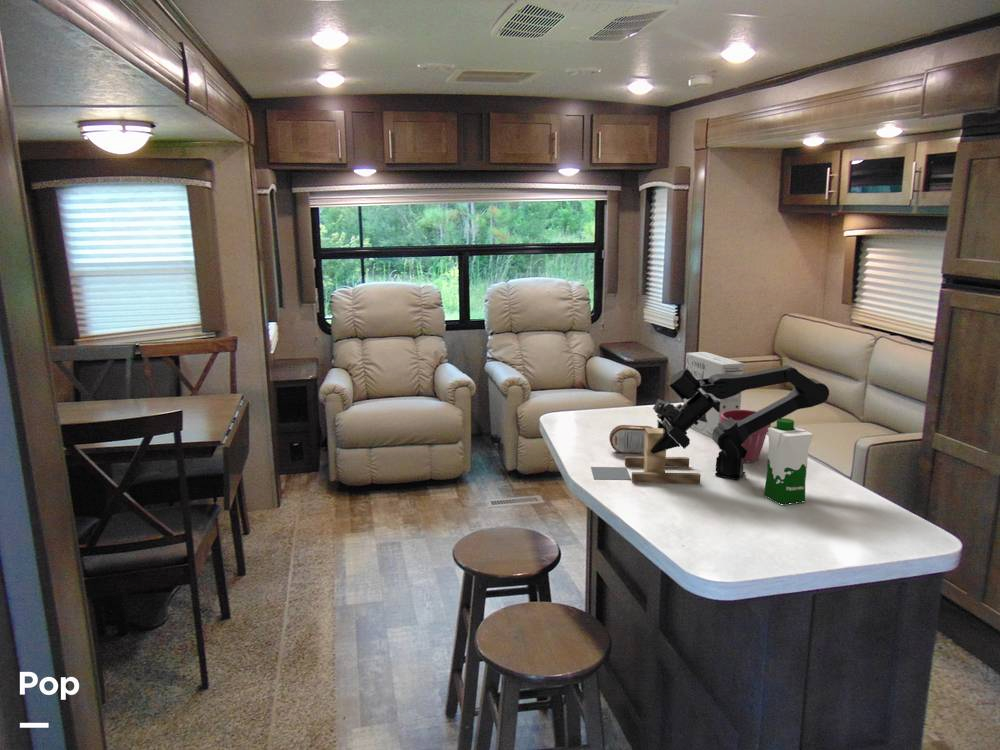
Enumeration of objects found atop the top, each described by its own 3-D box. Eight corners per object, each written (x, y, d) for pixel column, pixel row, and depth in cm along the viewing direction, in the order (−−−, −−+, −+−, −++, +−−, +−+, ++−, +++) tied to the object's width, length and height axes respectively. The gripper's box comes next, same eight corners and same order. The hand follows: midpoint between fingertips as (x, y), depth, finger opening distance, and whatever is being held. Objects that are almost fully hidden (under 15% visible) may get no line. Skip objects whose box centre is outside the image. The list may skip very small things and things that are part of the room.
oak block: (661, 469, 206) (663, 428, 204) (664, 475, 201) (666, 433, 199) (643, 469, 206) (645, 428, 204) (646, 475, 201) (648, 433, 199)
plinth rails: (687, 465, 211) (688, 457, 210) (700, 483, 196) (700, 475, 196) (624, 464, 211) (625, 456, 211) (632, 482, 197) (632, 473, 196)
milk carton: (787, 491, 191) (794, 416, 187) (811, 503, 183) (818, 426, 179) (758, 494, 189) (764, 419, 185) (781, 507, 180) (788, 428, 176)
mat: (626, 467, 209) (626, 467, 209) (631, 479, 199) (631, 479, 199) (590, 467, 209) (590, 466, 209) (594, 479, 199) (594, 478, 199)
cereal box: (681, 423, 254) (686, 352, 249) (701, 422, 257) (705, 351, 252) (717, 441, 234) (723, 364, 229) (738, 439, 236) (744, 363, 231)
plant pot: (760, 468, 209) (763, 424, 207) (711, 459, 217) (714, 417, 214) (773, 455, 221) (776, 413, 218) (726, 447, 228) (729, 407, 226)
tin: (659, 452, 223) (660, 425, 221) (660, 455, 220) (661, 428, 218) (608, 450, 225) (609, 423, 223) (609, 453, 222) (610, 426, 220)
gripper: (665, 382, 208) (625, 420, 211) (679, 398, 190) (634, 439, 192) (692, 410, 209) (651, 446, 212) (708, 428, 191) (663, 468, 194)
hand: (649, 449), depth 202 cm, fingers closed on oak block, 5 cm apart
